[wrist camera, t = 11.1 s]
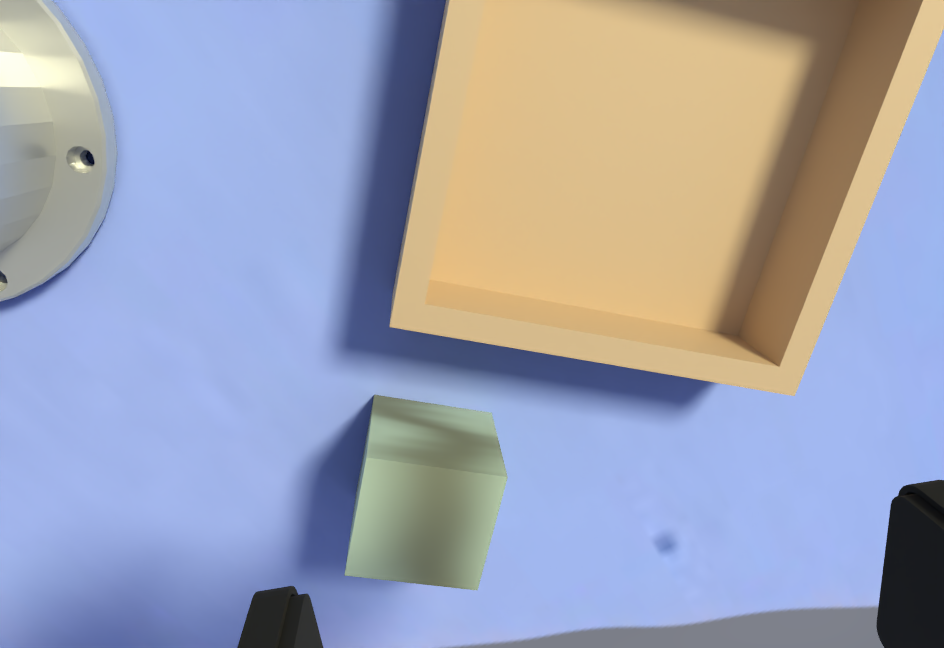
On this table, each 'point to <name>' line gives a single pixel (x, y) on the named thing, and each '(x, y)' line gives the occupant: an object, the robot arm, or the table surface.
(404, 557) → the green block
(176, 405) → the table surface
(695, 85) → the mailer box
